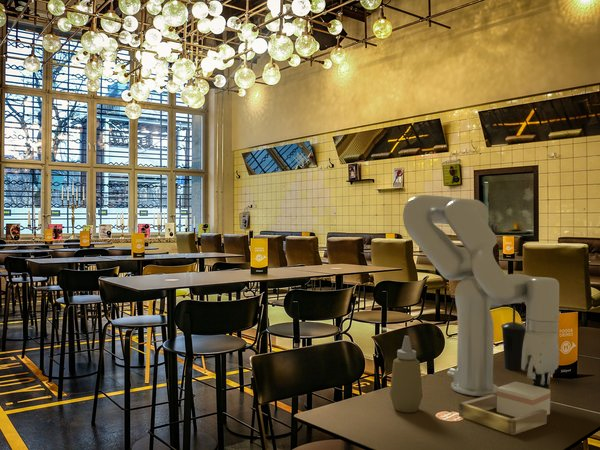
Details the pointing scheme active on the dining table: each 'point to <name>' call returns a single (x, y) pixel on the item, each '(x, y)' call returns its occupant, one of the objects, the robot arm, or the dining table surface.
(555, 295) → the robot arm
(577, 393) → the dining table surface
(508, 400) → the carton
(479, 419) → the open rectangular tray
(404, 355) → the squeeze bottle
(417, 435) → the dining table surface
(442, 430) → the dining table surface
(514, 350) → the drinking cup
